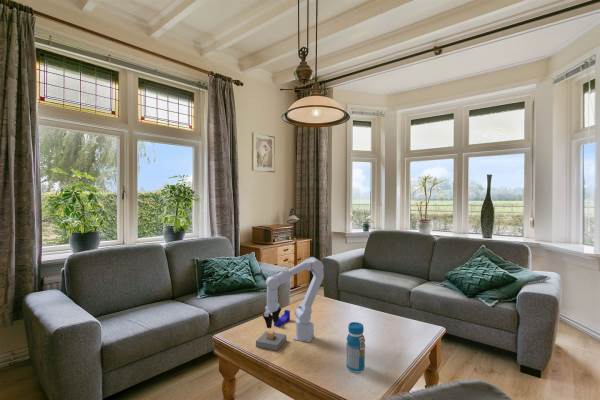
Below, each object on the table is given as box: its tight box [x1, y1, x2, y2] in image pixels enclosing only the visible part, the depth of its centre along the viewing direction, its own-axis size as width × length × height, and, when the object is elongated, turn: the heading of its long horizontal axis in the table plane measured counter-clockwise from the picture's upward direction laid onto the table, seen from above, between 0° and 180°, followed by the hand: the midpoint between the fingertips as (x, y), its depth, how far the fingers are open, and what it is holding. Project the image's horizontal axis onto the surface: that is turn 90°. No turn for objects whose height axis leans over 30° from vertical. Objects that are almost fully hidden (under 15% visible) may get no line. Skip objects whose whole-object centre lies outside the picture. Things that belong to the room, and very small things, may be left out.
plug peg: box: [267, 330, 275, 340], centre depth 165 cm, size 3×3×6 cm
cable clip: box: [273, 309, 291, 328], centre depth 190 cm, size 12×4×6 cm, turn 146°
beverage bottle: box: [345, 321, 366, 374], centre depth 142 cm, size 8×8×20 cm
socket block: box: [255, 330, 287, 352], centre depth 165 cm, size 12×12×3 cm
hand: (272, 324), depth 166 cm, fingers open, 7 cm apart
